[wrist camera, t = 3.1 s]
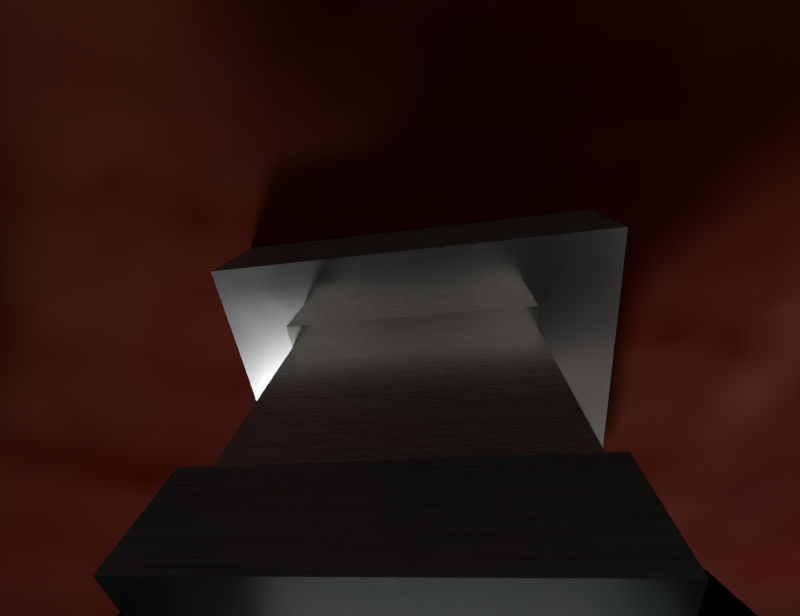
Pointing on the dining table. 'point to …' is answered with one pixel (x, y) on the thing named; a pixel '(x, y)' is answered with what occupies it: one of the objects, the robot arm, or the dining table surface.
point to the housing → (410, 484)
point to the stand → (445, 286)
